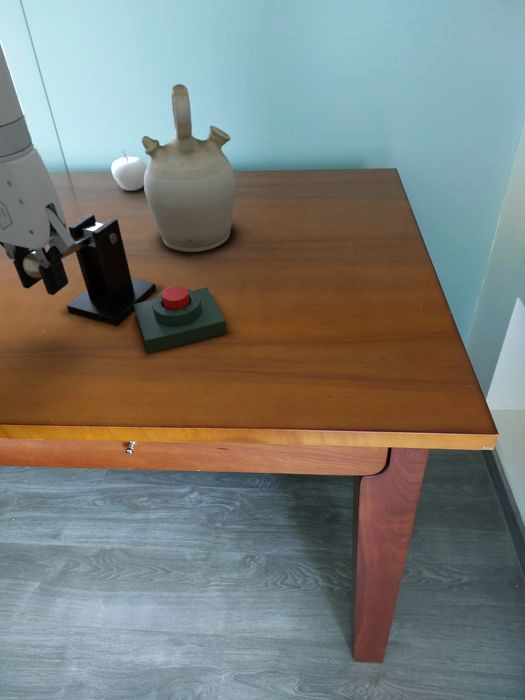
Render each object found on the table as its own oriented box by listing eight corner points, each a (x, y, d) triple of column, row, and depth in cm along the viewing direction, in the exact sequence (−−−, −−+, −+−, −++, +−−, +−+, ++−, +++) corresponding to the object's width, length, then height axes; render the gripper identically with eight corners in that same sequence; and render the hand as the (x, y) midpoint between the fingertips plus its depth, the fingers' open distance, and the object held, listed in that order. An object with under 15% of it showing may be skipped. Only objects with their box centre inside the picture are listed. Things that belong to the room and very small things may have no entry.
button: (166, 313, 70) (164, 303, 69) (161, 299, 73) (159, 289, 72) (192, 307, 71) (191, 296, 70) (186, 294, 74) (184, 283, 73)
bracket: (117, 325, 75) (96, 245, 67) (68, 312, 78) (41, 233, 70) (156, 289, 82) (141, 212, 74) (109, 278, 85) (90, 203, 77)
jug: (243, 216, 100) (234, 71, 84) (232, 258, 88) (219, 98, 72) (164, 216, 101) (140, 73, 85) (144, 257, 90) (111, 100, 74)
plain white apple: (118, 182, 115) (110, 145, 110) (151, 180, 116) (144, 143, 110) (113, 195, 110) (104, 157, 105) (147, 193, 110) (140, 155, 105)
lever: (40, 284, 64) (34, 260, 62) (20, 279, 65) (14, 255, 63) (113, 244, 74) (110, 222, 72) (95, 240, 75) (91, 218, 74)
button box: (147, 353, 70) (142, 329, 67) (136, 316, 76) (130, 293, 74) (226, 333, 73) (224, 309, 70) (208, 299, 79) (206, 276, 77)
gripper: (-93, 141, 55) (-24, 288, 67) (25, 160, 49) (78, 316, 61) (-36, 119, 60) (19, 259, 72) (78, 134, 55) (117, 283, 66)
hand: (46, 284), depth 67 cm, fingers closed on lever, 3 cm apart
